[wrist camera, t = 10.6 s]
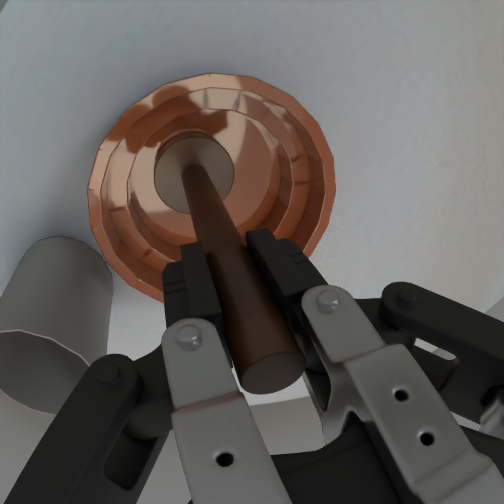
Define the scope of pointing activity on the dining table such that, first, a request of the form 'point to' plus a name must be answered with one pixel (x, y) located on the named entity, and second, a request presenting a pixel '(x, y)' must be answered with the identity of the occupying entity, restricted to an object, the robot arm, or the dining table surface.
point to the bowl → (245, 172)
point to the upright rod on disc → (229, 263)
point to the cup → (53, 322)
